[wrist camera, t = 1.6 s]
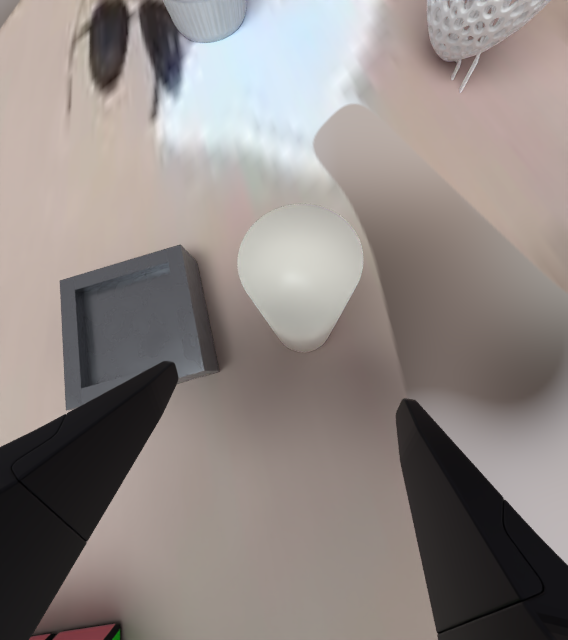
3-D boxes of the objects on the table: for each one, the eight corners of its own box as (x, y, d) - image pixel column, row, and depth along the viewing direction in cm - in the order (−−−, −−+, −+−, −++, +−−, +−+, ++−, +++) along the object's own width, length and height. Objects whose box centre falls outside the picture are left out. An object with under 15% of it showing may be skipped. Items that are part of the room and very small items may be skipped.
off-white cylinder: (343, 323, 22) (391, 254, 9) (303, 364, 21) (299, 346, 9) (302, 286, 23) (298, 182, 11) (263, 324, 22) (212, 260, 10)
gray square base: (219, 371, 22) (204, 370, 18) (101, 405, 22) (65, 410, 19) (197, 262, 24) (180, 244, 21) (92, 293, 24) (59, 280, 21)
